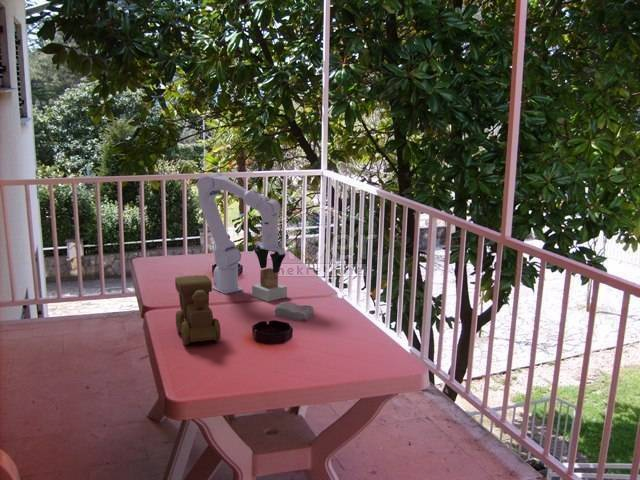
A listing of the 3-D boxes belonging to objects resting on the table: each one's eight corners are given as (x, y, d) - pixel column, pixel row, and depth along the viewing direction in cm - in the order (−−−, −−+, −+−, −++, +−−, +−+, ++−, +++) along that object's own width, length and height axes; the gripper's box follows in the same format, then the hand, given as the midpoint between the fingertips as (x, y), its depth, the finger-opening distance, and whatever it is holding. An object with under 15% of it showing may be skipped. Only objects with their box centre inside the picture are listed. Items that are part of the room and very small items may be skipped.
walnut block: (260, 285, 242) (260, 269, 241) (270, 283, 245) (270, 267, 244) (268, 288, 239) (268, 272, 237) (277, 286, 242) (277, 270, 240)
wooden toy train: (173, 327, 210) (172, 276, 206) (209, 323, 214) (208, 273, 210) (184, 350, 191) (182, 295, 188) (223, 345, 195) (222, 291, 192)
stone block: (285, 314, 230) (272, 316, 221) (287, 300, 230) (273, 302, 221) (316, 320, 225) (303, 323, 216) (318, 306, 225) (305, 309, 216)
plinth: (252, 295, 243) (252, 285, 242) (271, 291, 249) (271, 281, 248) (267, 301, 237) (267, 291, 236) (286, 297, 243) (286, 286, 242)
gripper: (248, 231, 241) (248, 267, 244) (273, 238, 230) (273, 276, 233) (264, 229, 245) (264, 264, 248) (289, 235, 235) (288, 272, 238)
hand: (269, 270), depth 241 cm, fingers open, 7 cm apart
